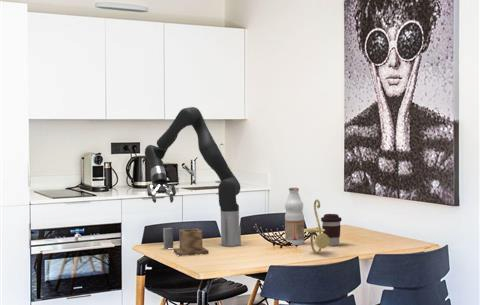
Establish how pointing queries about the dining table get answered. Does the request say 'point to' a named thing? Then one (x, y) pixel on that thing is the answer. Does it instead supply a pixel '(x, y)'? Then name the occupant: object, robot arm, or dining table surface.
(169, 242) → the grey upright cylinder
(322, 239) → the wall sconce
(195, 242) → the wooden flanged block
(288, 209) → the fruit juice
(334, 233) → the coffee cup
